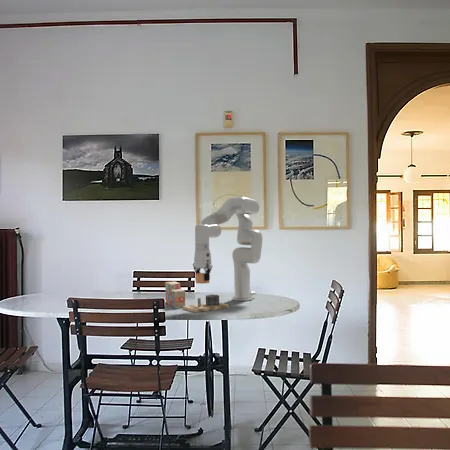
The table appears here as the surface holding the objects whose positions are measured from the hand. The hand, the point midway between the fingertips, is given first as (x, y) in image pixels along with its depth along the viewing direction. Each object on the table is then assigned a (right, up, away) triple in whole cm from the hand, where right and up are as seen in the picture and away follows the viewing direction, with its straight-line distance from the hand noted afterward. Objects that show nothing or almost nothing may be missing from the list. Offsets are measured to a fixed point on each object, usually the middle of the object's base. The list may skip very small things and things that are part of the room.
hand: (202, 279), depth 260 cm
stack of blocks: (-17, -17, +17) cm, 29 cm away
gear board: (+2, -16, +3) cm, 17 cm away
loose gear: (0, -2, 0) cm, 2 cm away
